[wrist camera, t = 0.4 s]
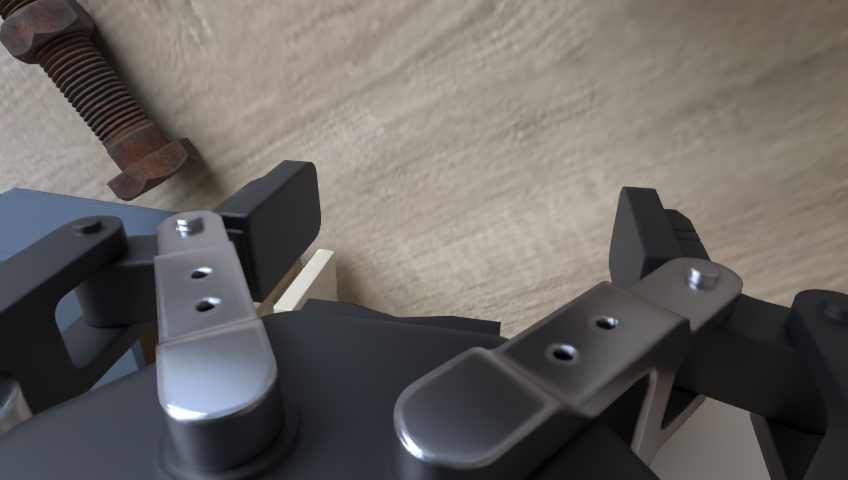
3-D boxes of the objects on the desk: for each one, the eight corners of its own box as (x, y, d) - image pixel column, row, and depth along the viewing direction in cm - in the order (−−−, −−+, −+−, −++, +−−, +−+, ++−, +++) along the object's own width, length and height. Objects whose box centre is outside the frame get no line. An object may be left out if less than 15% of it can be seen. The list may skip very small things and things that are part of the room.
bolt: (53, -50, 34) (205, 155, 38) (-17, -8, 33) (144, 194, 38) (2, -84, 28) (187, 162, 32) (-83, -33, 28) (115, 207, 32)
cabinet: (194, 214, 39) (109, 279, 32) (223, 354, 46) (158, 434, 39) (14, 187, 42) (-101, 241, 35) (67, 323, 49) (-20, 392, 42)
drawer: (395, 260, 36) (362, 323, 30) (394, 392, 42) (366, 465, 37) (147, 221, 39) (76, 271, 34) (180, 349, 46) (125, 409, 40)
